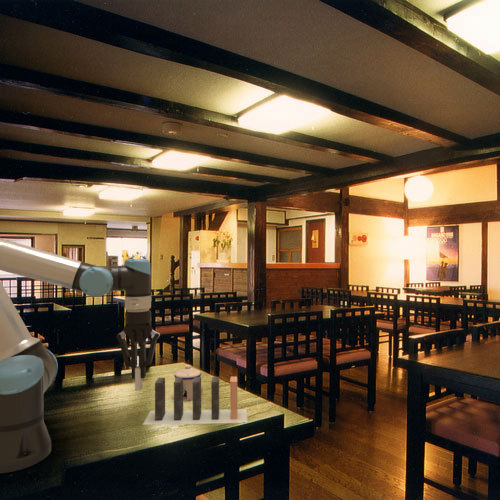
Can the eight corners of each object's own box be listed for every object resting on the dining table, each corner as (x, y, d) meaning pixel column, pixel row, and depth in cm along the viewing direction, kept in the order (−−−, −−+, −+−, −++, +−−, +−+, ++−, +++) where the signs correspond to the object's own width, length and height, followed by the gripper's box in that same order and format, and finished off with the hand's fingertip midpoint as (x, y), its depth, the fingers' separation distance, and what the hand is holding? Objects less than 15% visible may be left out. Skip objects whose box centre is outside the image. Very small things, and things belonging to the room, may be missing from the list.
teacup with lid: (169, 399, 133) (168, 365, 133) (190, 392, 140) (190, 360, 140) (190, 409, 125) (190, 372, 125) (212, 401, 131) (212, 366, 132)
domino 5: (237, 412, 119) (237, 376, 119) (237, 419, 114) (237, 381, 114) (230, 412, 119) (230, 376, 119) (230, 419, 114) (230, 381, 114)
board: (142, 428, 111) (142, 424, 111) (150, 414, 121) (150, 410, 121) (247, 426, 112) (247, 422, 112) (246, 412, 122) (246, 409, 122)
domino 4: (211, 419, 114) (211, 382, 114) (212, 412, 119) (212, 376, 119) (218, 419, 114) (218, 381, 114) (219, 412, 119) (219, 376, 119)
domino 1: (155, 420, 114) (154, 382, 114) (158, 413, 119) (158, 377, 119) (161, 420, 114) (161, 382, 114) (165, 413, 119) (165, 377, 119)
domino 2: (173, 420, 114) (173, 382, 114) (176, 413, 119) (176, 377, 119) (180, 420, 114) (180, 382, 114) (183, 413, 119) (183, 377, 119)
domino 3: (192, 420, 114) (192, 382, 114) (194, 413, 119) (194, 377, 119) (199, 419, 114) (199, 382, 114) (201, 413, 119) (201, 377, 119)
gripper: (112, 312, 113) (112, 394, 112) (157, 311, 113) (158, 393, 113) (120, 308, 120) (120, 385, 120) (162, 308, 120) (163, 384, 120)
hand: (138, 389), depth 116 cm, fingers closed
